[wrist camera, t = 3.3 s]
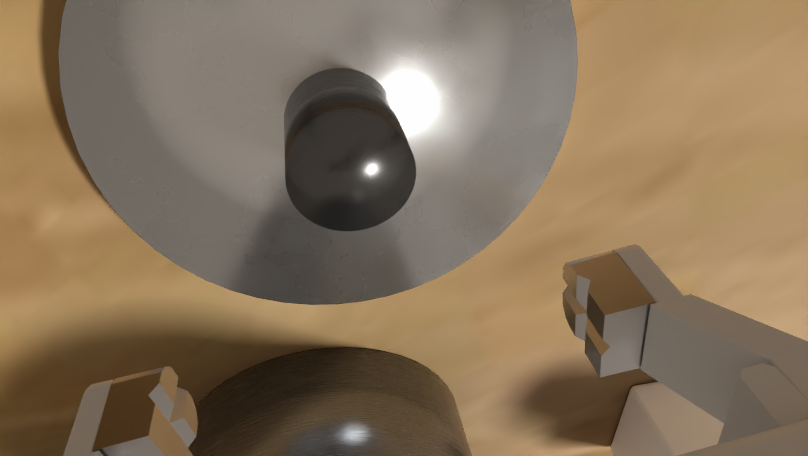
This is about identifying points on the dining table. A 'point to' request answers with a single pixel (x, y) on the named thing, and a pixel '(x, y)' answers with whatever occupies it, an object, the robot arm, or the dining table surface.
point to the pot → (331, 409)
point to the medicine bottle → (662, 424)
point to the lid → (318, 132)
